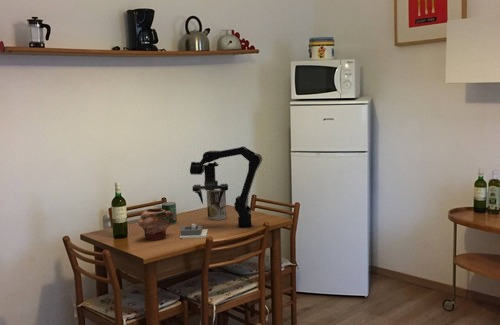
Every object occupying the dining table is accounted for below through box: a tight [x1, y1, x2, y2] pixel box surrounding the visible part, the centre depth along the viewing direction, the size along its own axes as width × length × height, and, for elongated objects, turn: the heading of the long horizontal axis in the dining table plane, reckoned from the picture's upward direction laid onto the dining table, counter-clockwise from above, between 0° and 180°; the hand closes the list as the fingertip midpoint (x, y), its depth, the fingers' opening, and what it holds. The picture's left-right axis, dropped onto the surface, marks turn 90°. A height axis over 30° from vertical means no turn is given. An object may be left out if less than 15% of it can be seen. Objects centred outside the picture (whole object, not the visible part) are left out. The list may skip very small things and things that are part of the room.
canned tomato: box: [161, 201, 178, 225], centre depth 305 cm, size 8×8×11 cm
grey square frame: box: [179, 224, 203, 236], centre depth 277 cm, size 10×10×2 cm
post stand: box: [179, 223, 209, 239], centre depth 277 cm, size 13×13×6 cm
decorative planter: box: [138, 208, 174, 241], centre depth 275 cm, size 20×12×14 cm, turn 137°
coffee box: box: [206, 189, 227, 221], centre depth 311 cm, size 9×6×16 cm
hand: (211, 203), depth 295 cm, fingers open, 9 cm apart
